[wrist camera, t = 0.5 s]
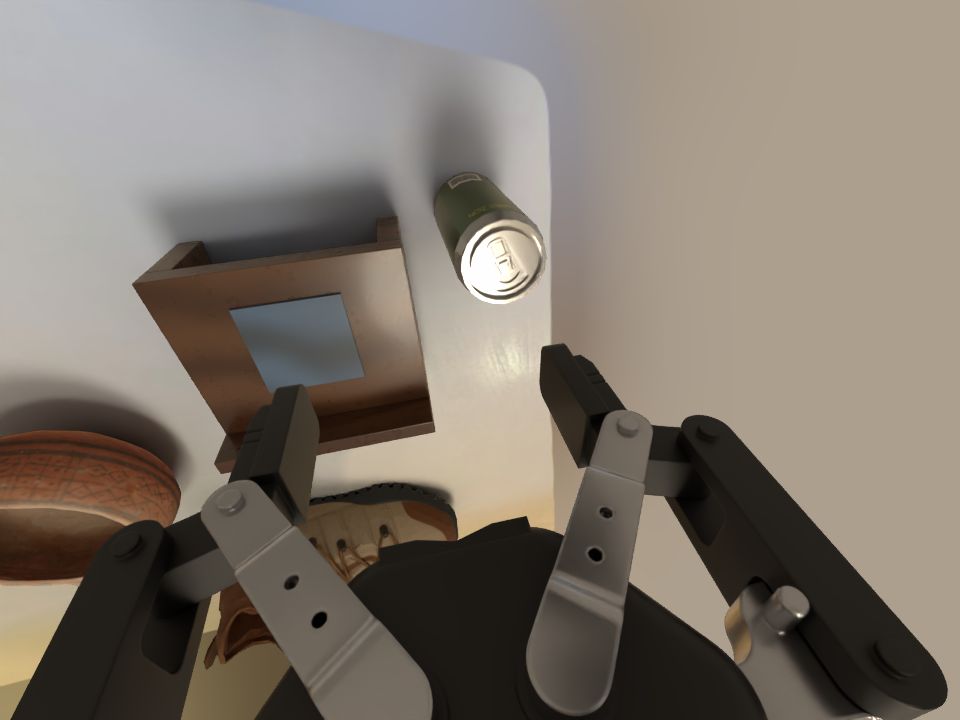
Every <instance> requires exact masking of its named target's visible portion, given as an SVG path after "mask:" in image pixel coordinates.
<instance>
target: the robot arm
mask: <svg viewBox="0 0 960 720" xmlns="http://www.w3.org/2000/svg"><path fill="white" fill-rule="evenodd" d="M540 390H541V394H542V397H543V399H544V401H545V403H546V405H547V407H548V409H549V411H550V413H551V415H552V417H553V419H554V421H555V423H556V425H557V427H558V429H559V431H560V433H561V435H562V437H563V439H564V441H565V443H566V445H567V447H568V449H569V451H570V453H571V455H572V457H573V459H574V461H575V463H576V465H577V467H578V468H584V467H587V468H586V470H585V473H584V477H583V479H582V483H581V486H580V489H579V492H578V495H577V498H576V501H575V504H574V507H573V510H572V513H571V516H570V519H569V523H568V526H567V529H566V532H565V535H564V536H563V535H561V534H559V533H556V532H554V531H551V530H547V529H543V528H537V527H530V525H529V522H528V519H527V516H524V517H520V518H515V519H511V520H506V521H501V522H497V523H492V524H490V525H488V526H486V527H484V528H482V529H480V530H478V531H476V532H474V533H472V534H470V535H468V536H466V537H464V538H462V539H459V540H456V541H436V540H414V541H409V542H404V543H400V544H395V545H391V546H386V547H381V548H379V561H377V562H375V563H373V564H371V565H370V566H368V567H367V568H365V569H364V570H362V571H361V572H360V573H359V574H357V575H356V576H355V577H354V578H353V579H352V580H351V581H350V582H349V583H348V584H347V585H346V583H345V582H344V581H343V580H342V579H341V577H340V576H339V575H338V574H337V573H336V572H335V570H334V569H333V568H332V567H331V566H330V565H329V563H328V562H327V561H326V560H325V559H324V558H323V556H322V555H321V554H320V553H319V552H318V551H317V549H316V548H315V547H314V546H313V545H312V544H311V542H310V541H309V540H308V539H307V538H306V536H305V535H304V534H303V533H302V532H301V531H300V529H299V528H298V527H297V526H296V525H298V524H303V523H306V520H307V513H308V507H309V500H310V494H311V487H312V481H313V475H314V468H315V462H316V455H317V449H318V442H319V435H320V430H319V422H318V418H317V416H316V413H315V411H314V408H313V406H312V403H311V401H310V398H309V396H308V393H307V391H306V388H305V386H304V385H303V384H297V385H291V386H284V387H278V388H277V389H276V391H275V394H274V397H273V400H272V403H271V405H265V406H261V408H260V409H259V410H258V411H257V412H256V413H255V414H254V416H253V417H252V418H251V420H250V422H249V425H248V428H247V431H246V433H247V434H245V436H244V439H243V442H242V443H243V445H241V448H240V450H239V453H238V456H237V459H236V462H235V464H234V467H233V470H232V473H231V476H230V478H229V481H228V484H227V485H225V486H223V487H221V488H219V489H218V490H217V491H215V492H214V493H213V494H212V495H211V496H210V497H209V498H208V499H207V501H206V502H205V504H204V505H203V507H202V510H201V512H199V513H197V514H195V515H193V516H190V517H188V518H186V519H183V520H181V521H179V522H177V523H174V524H172V525H170V526H167V527H165V528H164V527H163V526H162V525H161V524H160V523H159V522H158V521H155V520H141V521H138V522H134V523H132V524H129V525H127V526H125V527H123V528H122V529H120V530H119V531H117V532H116V533H114V534H113V535H112V536H110V537H109V538H108V539H107V540H106V541H105V542H104V543H103V544H102V545H101V547H100V548H99V549H98V551H97V552H96V554H95V556H94V558H93V560H92V562H91V564H90V566H89V567H88V569H87V571H86V573H85V575H84V577H83V579H82V581H81V583H80V585H79V587H78V589H77V591H76V593H75V595H74V597H73V599H72V601H71V603H70V604H69V606H68V608H67V610H66V612H65V614H64V616H63V618H62V620H61V622H60V624H59V626H58V628H57V630H56V632H55V634H54V636H53V638H52V640H51V642H50V643H49V645H48V647H47V649H46V651H45V653H44V655H43V657H42V659H41V661H40V663H39V665H38V667H37V669H36V671H35V673H34V675H33V677H32V679H31V680H30V683H29V684H28V686H27V688H26V690H25V692H24V694H23V696H22V698H21V700H20V702H19V704H18V706H17V708H16V710H15V712H14V714H13V716H12V718H11V720H181V716H182V712H183V708H184V704H185V700H186V696H187V692H188V688H189V684H190V680H191V676H192V672H193V668H194V664H195V660H196V656H197V652H198V648H199V644H200V641H201V636H202V633H203V629H204V625H205V621H206V617H207V613H208V609H209V605H210V601H211V597H212V595H214V594H216V593H217V592H219V591H221V590H223V589H225V588H227V587H229V586H231V585H233V584H235V583H237V582H239V583H240V585H241V586H242V588H243V590H244V591H245V593H246V594H247V596H248V597H249V599H250V601H251V602H252V604H253V605H254V607H255V608H256V610H257V612H258V613H259V615H260V616H261V618H262V619H263V621H264V623H265V624H266V626H267V627H268V629H269V630H270V632H271V633H272V635H273V637H274V638H275V640H276V641H277V643H278V644H279V646H280V648H281V649H282V651H283V652H284V654H285V655H286V657H287V659H288V660H289V662H290V663H291V666H290V667H289V669H288V670H287V672H286V673H285V675H284V676H283V678H282V679H281V681H280V682H279V683H278V685H277V686H276V688H275V689H274V691H273V692H272V694H271V695H270V697H269V698H268V700H267V701H266V703H265V704H264V705H263V707H262V708H261V710H260V711H259V713H258V714H257V716H256V717H255V719H254V720H912V719H914V718H917V717H919V716H921V715H923V714H925V713H928V712H930V711H932V710H934V709H937V708H938V707H940V706H942V705H943V704H944V702H945V701H946V698H947V691H948V689H947V684H946V680H945V678H944V675H943V673H942V671H941V669H940V667H939V666H938V664H937V663H936V661H935V660H934V658H933V657H932V656H931V655H930V653H929V652H928V651H927V650H926V649H925V648H924V647H923V645H922V644H921V643H920V642H919V641H918V640H917V639H916V638H915V636H914V635H913V634H912V633H911V632H910V631H909V630H908V628H907V627H906V626H905V625H904V624H903V623H902V622H901V621H900V619H899V618H898V617H897V616H896V615H895V614H894V613H893V612H892V611H891V609H890V608H889V607H888V606H887V605H886V604H885V603H884V601H883V600H882V599H881V598H880V597H879V596H878V595H877V594H876V592H875V591H874V590H873V589H872V588H871V587H870V586H869V584H868V583H867V582H866V581H865V580H864V579H863V578H862V577H861V576H860V574H859V573H858V572H857V571H856V570H855V569H854V567H853V566H852V565H851V564H850V563H849V562H848V561H847V560H846V558H845V557H844V556H843V555H842V554H841V553H840V552H839V551H838V550H837V548H836V547H835V546H834V545H833V544H832V543H831V542H830V540H829V539H828V538H827V537H826V536H825V535H824V534H823V533H822V531H821V530H820V529H819V528H818V527H817V526H816V525H815V524H814V522H813V521H812V520H811V519H810V518H809V517H808V516H807V515H806V513H805V512H804V511H803V510H802V509H801V508H800V507H799V505H798V504H797V503H796V502H795V501H794V500H793V499H792V498H791V496H790V495H789V494H788V493H787V492H786V491H785V490H784V488H783V487H782V486H781V485H780V484H779V483H778V482H777V481H776V479H775V478H774V477H773V476H772V475H771V474H770V473H769V472H768V470H766V468H765V467H764V466H763V465H762V464H761V462H760V461H759V460H758V459H757V458H756V457H755V456H754V455H753V454H752V452H751V451H750V450H749V449H748V448H747V447H746V446H745V445H744V443H743V442H742V441H741V440H740V439H739V438H738V437H737V436H736V434H735V433H734V432H733V431H732V430H731V429H730V428H729V427H728V426H727V425H726V424H725V423H723V422H721V421H720V420H718V419H715V418H712V417H709V416H704V415H694V416H690V417H687V418H686V419H685V420H684V421H683V422H682V425H681V428H680V427H665V426H655V425H651V424H650V422H649V421H648V420H647V419H646V418H645V417H643V416H642V415H640V414H638V413H636V412H633V411H628V410H627V409H626V408H625V407H624V405H623V404H622V403H621V401H620V400H619V398H618V397H617V396H616V394H615V393H614V392H613V390H612V389H611V388H610V386H609V385H608V383H606V382H605V379H604V378H603V376H602V375H601V374H600V373H599V371H598V370H597V368H596V367H595V365H594V364H593V363H592V362H591V361H589V360H588V359H586V358H585V357H583V356H581V355H577V356H573V355H572V353H571V352H570V350H569V349H568V348H567V346H566V345H565V344H563V343H562V344H555V345H549V346H543V347H542V350H541V364H540ZM644 494H645V495H655V496H664V497H665V499H666V500H667V502H668V504H669V505H670V507H671V509H672V511H673V512H674V514H675V516H676V517H677V519H678V521H679V522H680V524H681V526H682V527H683V529H684V531H685V532H686V534H687V536H688V538H689V539H690V541H691V543H692V544H693V546H694V548H695V549H696V551H697V553H698V554H699V556H700V558H701V559H702V561H703V563H704V564H705V566H706V568H707V570H708V571H709V573H710V575H711V576H712V578H713V580H714V581H715V583H716V585H717V586H718V588H719V590H720V591H721V593H722V595H723V597H724V598H725V600H726V602H727V603H728V605H729V607H730V608H729V610H728V611H727V613H726V616H725V622H724V623H725V629H726V633H727V636H728V638H729V641H730V643H731V645H732V649H733V652H734V661H733V660H732V659H731V658H730V657H729V656H728V655H727V654H726V653H725V652H724V651H723V650H722V649H720V648H719V647H718V646H717V645H716V644H714V643H713V642H711V641H710V640H709V639H707V638H706V637H705V636H703V635H702V634H700V633H699V632H698V631H696V630H695V629H693V628H692V627H691V626H689V625H688V624H686V623H685V622H684V621H682V620H681V619H680V618H678V617H677V616H675V615H674V614H673V613H671V612H670V611H669V610H667V609H666V608H665V607H663V606H662V605H660V604H659V603H658V602H656V601H655V600H653V599H652V598H651V597H649V596H648V595H646V594H645V593H644V592H642V591H641V590H640V589H638V588H637V587H636V586H634V585H633V584H631V583H630V582H629V575H630V570H631V564H632V559H633V552H634V547H635V542H636V536H637V531H638V525H639V519H640V514H641V508H642V502H643V497H644Z"/></svg>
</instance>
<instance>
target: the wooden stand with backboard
mask: <svg viewBox="0 0 960 720" xmlns="http://www.w3.org/2000/svg"><path fill="white" fill-rule="evenodd" d="M132 285H133V287H134V289H135V290H136V292H137V293H138V295H139V296H140V298H141V300H142V301H143V303H144V304H145V306H146V308H147V309H148V311H149V312H150V314H151V315H152V317H153V319H154V320H155V322H156V323H157V325H158V327H159V328H160V330H161V331H162V333H163V334H164V336H165V338H166V339H167V341H168V342H169V344H170V346H171V347H172V349H173V350H174V352H175V353H176V355H177V357H178V358H179V360H180V361H181V363H182V365H183V366H184V368H185V369H186V371H187V372H188V374H189V376H190V377H191V379H192V380H193V382H194V384H195V385H196V387H197V388H198V390H199V391H200V393H201V395H202V396H203V398H204V399H205V401H206V403H207V404H208V406H209V407H210V409H211V410H212V412H213V414H214V415H215V417H216V418H217V420H218V422H219V423H220V425H221V426H222V428H223V429H224V431H225V433H226V436H225V439H224V441H223V443H222V446H221V448H220V451H219V453H218V455H217V458H216V460H215V463H214V465H215V466H216V467H217V469H218V470H219V472H220V473H221V474H224V473H229V472H232V470H233V467H234V464H235V462H236V459H237V456H238V453H239V450H240V448H241V445H243V443H242V442H243V439H244V436H245V434H247V433H246V431H247V428H248V425H249V422H250V420H251V418H252V417H253V416H254V414H255V413H256V412H257V411H258V410H259V409H260V408H261V406H265V405H271V403H272V400H273V397H274V394H275V391H276V389H277V388H278V387H284V386H291V385H297V384H303V385H304V386H305V388H306V391H307V393H308V396H309V398H310V401H311V403H312V406H313V408H314V411H315V413H316V416H317V418H318V422H319V430H320V435H319V442H318V449H317V455H321V454H326V453H331V452H336V451H341V450H346V449H351V448H357V447H362V446H367V445H372V444H377V443H382V442H387V441H392V440H397V439H402V438H408V437H413V436H418V435H423V434H428V433H433V432H435V426H434V419H433V413H432V407H431V401H430V395H429V388H428V382H427V376H426V370H425V364H424V358H423V352H422V347H421V341H420V336H419V331H418V325H417V320H416V314H415V309H414V303H413V298H412V292H411V287H410V282H409V276H408V271H407V265H406V260H405V254H404V249H403V243H402V238H401V232H400V227H399V222H398V217H397V216H395V217H387V218H380V219H377V242H376V243H368V244H361V245H353V246H346V247H338V248H331V249H323V250H316V251H308V252H301V253H293V254H286V255H279V256H271V257H264V258H256V259H249V260H241V261H234V262H226V263H219V264H212V263H211V261H210V259H209V257H208V255H207V253H206V251H205V249H204V247H203V245H202V243H201V241H197V242H189V243H181V244H177V245H176V246H175V247H174V248H173V249H172V250H170V251H169V252H168V253H167V254H166V255H165V256H164V257H162V258H161V259H160V260H159V261H158V262H157V263H155V264H154V265H153V266H152V267H151V268H150V269H149V270H147V271H146V272H145V273H144V274H143V275H142V276H140V277H139V278H138V279H137V280H136V281H135V282H134V283H132Z"/></svg>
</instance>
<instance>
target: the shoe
mask: <svg viewBox="0 0 960 720" xmlns="http://www.w3.org/2000/svg"><path fill="white" fill-rule="evenodd" d="M296 526H297V527H298V528H299V529H300V531H301V532H302V533H303V534H304V535H305V536H306V538H307V539H308V540H309V541H310V542H311V544H312V545H313V546H314V547H315V548H316V549H317V551H318V552H319V553H320V554H321V555H322V556H323V558H324V559H325V560H326V561H327V562H328V563H329V565H330V566H331V567H332V568H333V569H334V570H335V572H336V573H337V574H338V575H339V576H340V577H341V579H342V580H343V581H344V582H345V583H346V585H347V584H348V583H349V582H350V581H351V580H352V579H353V578H354V577H355V576H356V575H357V574H359V573H360V572H361V571H362V570H364V569H365V568H367V567H368V566H370V565H371V564H373V563H375V562H377V561H379V548H381V547H386V546H391V545H395V544H400V543H404V542H409V541H414V540H436V541H456V540H457V539H458V528H457V519H456V515H455V512H454V510H453V509H452V508H451V506H450V505H449V504H446V503H445V500H443V499H441V498H439V497H438V498H437V499H436V498H435V495H433V494H431V493H428V492H427V494H423V490H420V489H416V491H412V487H410V486H405V485H404V488H401V486H400V485H398V484H393V487H389V485H388V484H382V486H381V488H379V487H378V485H376V486H372V487H371V490H367V488H364V489H361V490H360V493H359V494H357V495H356V493H355V492H351V493H348V496H347V497H344V494H342V495H337V497H336V499H333V497H332V496H330V497H325V500H322V499H321V498H315V499H314V501H313V502H310V503H309V507H308V513H307V520H306V523H303V524H298V525H296ZM219 611H221V619H220V623H219V627H218V631H217V635H216V636H215V637H214V639H213V641H212V643H211V644H210V646H209V648H208V650H207V653H206V656H205V660H204V664H205V668H206V669H208V668H209V667H211V666H212V665H213V662H214V660H215V657H216V655H218V657H219V661H220V663H221V664H226V663H227V662H228V661H230V660H231V659H232V658H233V657H234V656H235V655H237V654H238V653H239V652H241V651H243V650H245V649H247V648H249V647H251V646H253V645H258V644H265V643H272V644H276V645H277V646H278V648H280V646H279V644H278V643H277V641H276V640H275V638H274V637H273V635H272V633H271V632H270V630H269V629H268V627H267V626H266V624H265V623H264V621H263V619H262V618H261V616H260V615H259V613H258V612H257V610H256V608H255V607H254V605H253V604H252V602H251V601H250V599H249V597H248V596H247V594H246V593H245V591H244V590H243V588H242V586H241V585H240V583H239V582H237V583H235V584H233V585H231V586H229V587H227V588H225V589H223V590H221V593H220V604H219ZM280 650H281V651H282V649H281V648H280ZM282 652H283V651H282ZM283 653H284V652H283Z"/></svg>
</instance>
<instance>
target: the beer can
mask: <svg viewBox="0 0 960 720" xmlns="http://www.w3.org/2000/svg"><path fill="white" fill-rule="evenodd" d="M434 215H435V218H436V222H437V225H438V228H439V230H440V233H441V235H442V238H443V240H444V243H445V245H446V248H447V250H448V253H449V256H450V258H451V261H452V263H453V266H454V268H455V271H456V273H457V276H458V278H459V280H460V281H461V282H462V284H463V285H464V287H465V288H466V289H467V290H469V291H470V292H471V293H472V294H474V295H475V296H476V297H478V298H479V299H481V300H483V301H486V302H489V303H493V304H504V303H509V302H512V301H516V300H519V299H520V298H522V297H523V296H525V295H526V294H528V293H529V292H530V291H531V290H532V289H533V288H534V287H535V286H536V285H537V284H538V282H539V280H540V278H541V276H542V274H543V272H544V270H545V264H546V259H547V257H546V250H545V245H544V243H543V237H542V235H541V233H540V231H539V229H538V227H537V225H536V224H534V223H533V222H532V221H531V220H530V219H529V218H528V217H527V216H526V215H525V214H524V213H523V212H522V211H521V210H520V209H519V208H518V207H517V206H516V205H515V204H514V203H513V202H512V201H511V200H510V199H509V198H508V197H506V196H505V195H504V194H503V193H502V192H501V191H500V190H499V189H498V188H497V187H496V186H495V185H494V184H493V183H492V182H491V181H490V180H489V179H487V178H486V177H484V176H482V175H479V174H477V173H462V174H459V175H456V176H454V177H452V178H451V179H449V180H448V181H447V182H445V183H444V185H443V186H442V187H441V189H440V190H439V192H438V194H437V197H436V200H435V203H434Z"/></svg>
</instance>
